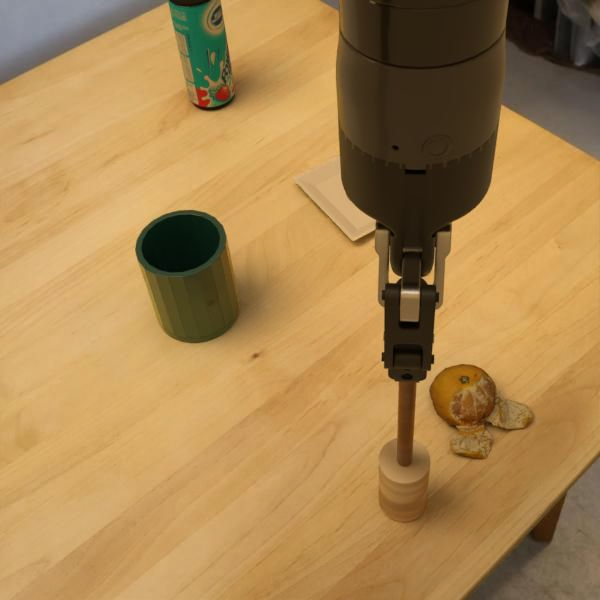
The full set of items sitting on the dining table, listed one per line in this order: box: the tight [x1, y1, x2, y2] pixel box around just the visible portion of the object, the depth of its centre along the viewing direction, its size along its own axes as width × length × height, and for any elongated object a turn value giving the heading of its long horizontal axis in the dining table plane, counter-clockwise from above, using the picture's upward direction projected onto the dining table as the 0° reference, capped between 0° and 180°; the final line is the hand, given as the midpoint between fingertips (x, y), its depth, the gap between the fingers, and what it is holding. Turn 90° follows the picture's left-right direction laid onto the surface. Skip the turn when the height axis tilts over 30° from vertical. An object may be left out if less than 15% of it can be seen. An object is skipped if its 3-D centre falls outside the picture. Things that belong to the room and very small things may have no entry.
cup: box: [134, 209, 241, 344], centre depth 82 cm, size 8×8×10 cm
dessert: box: [292, 154, 376, 242], centre depth 93 cm, size 12×12×5 cm
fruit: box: [428, 363, 533, 460], centre depth 75 cm, size 8×8×4 cm
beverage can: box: [167, 0, 236, 110], centre depth 102 cm, size 6×6×15 cm
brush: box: [378, 277, 431, 523], centre depth 61 cm, size 4×4×28 cm
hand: (409, 317), depth 52 cm, fingers open, 8 cm apart
